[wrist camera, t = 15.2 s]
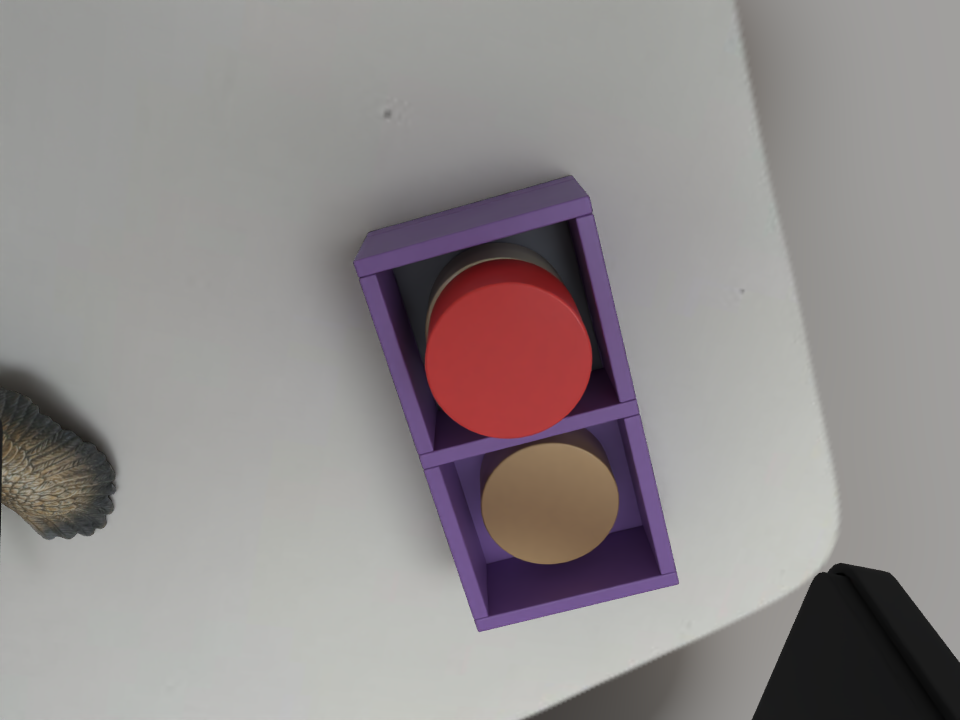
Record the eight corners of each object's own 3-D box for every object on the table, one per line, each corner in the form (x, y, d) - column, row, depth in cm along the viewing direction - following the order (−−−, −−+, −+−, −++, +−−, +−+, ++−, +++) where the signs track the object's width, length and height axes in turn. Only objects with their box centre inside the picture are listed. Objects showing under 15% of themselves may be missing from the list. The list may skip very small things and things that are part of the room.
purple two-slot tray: (367, 232, 27) (352, 261, 23) (572, 174, 26) (589, 195, 23) (476, 565, 31) (478, 633, 28) (654, 521, 31) (679, 584, 27)
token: (497, 404, 28) (499, 430, 26) (625, 431, 28) (637, 458, 27) (466, 518, 30) (466, 550, 28) (589, 542, 30) (597, 576, 28)
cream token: (444, 227, 26) (443, 242, 24) (585, 259, 26) (594, 276, 24) (414, 360, 27) (411, 384, 25) (548, 389, 28) (554, 415, 26)
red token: (446, 242, 24) (444, 265, 21) (598, 276, 24) (613, 303, 22) (414, 385, 25) (409, 421, 23) (558, 415, 26) (567, 454, 23)
